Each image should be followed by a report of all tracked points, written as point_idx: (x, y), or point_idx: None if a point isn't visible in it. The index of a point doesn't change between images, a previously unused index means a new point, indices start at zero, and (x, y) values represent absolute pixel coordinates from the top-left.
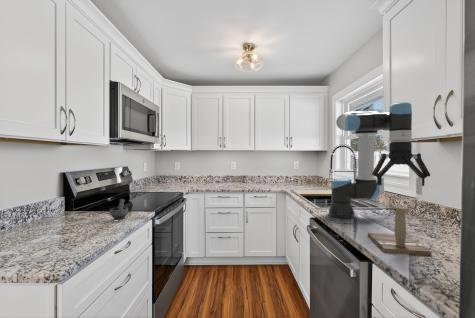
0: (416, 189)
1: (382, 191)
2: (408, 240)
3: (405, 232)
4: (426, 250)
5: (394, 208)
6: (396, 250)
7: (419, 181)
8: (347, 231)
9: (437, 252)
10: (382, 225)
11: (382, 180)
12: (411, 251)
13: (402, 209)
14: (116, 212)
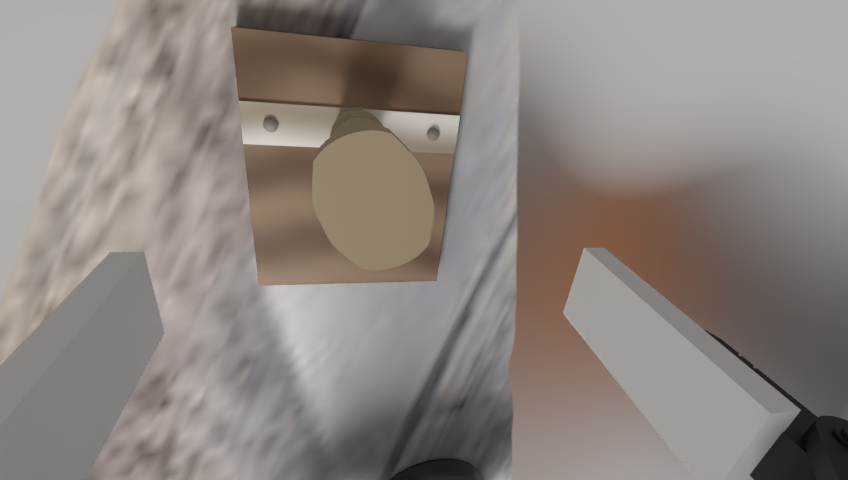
0: (139, 374)
1: (616, 261)
2: (285, 195)
3: (340, 122)
4: (252, 42)
5: (428, 190)
6: (409, 46)
7: (7, 440)
8: (497, 308)
9: (180, 82)
10: (303, 417)
11: (745, 367)
12: (336, 38)
13: (390, 133)
14: None
